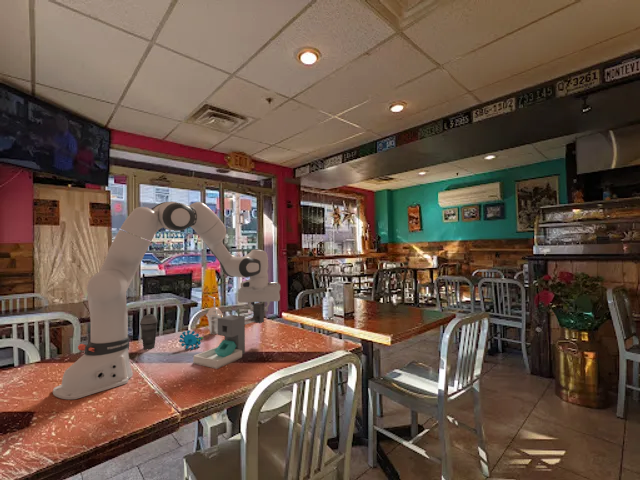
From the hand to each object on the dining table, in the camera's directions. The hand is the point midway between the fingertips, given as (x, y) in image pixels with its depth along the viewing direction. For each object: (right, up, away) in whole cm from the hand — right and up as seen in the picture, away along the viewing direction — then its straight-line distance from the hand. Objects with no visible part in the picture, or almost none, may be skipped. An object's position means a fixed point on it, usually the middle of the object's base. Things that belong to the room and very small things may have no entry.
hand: (259, 311), depth 153 cm
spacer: (-11, -13, -22) cm, 28 cm away
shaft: (-4, -5, -9) cm, 11 cm away
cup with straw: (-28, -16, +17) cm, 36 cm away
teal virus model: (-30, -16, -7) cm, 35 cm away
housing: (-9, -15, -17) cm, 25 cm away
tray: (-12, -15, -24) cm, 31 cm away
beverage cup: (-50, -16, -7) cm, 53 cm away
